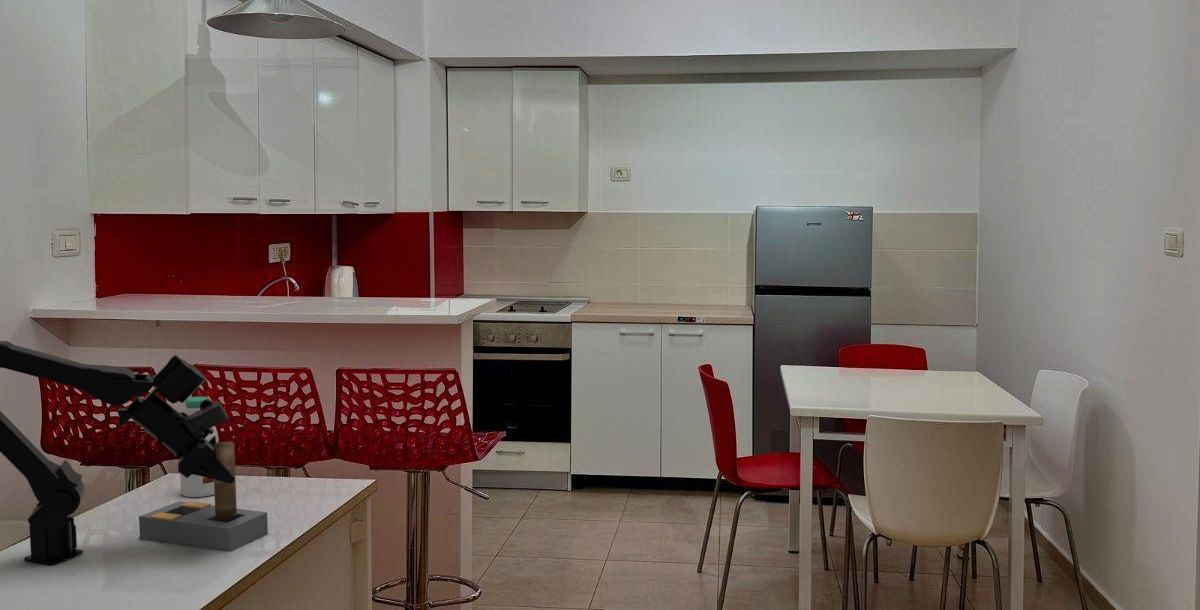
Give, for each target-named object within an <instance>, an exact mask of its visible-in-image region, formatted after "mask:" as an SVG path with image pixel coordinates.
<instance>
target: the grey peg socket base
mask: <svg viewBox="0 0 1200 610" xmlns="http://www.w3.org/2000/svg"><path fill="white" fill-rule="evenodd" d="M268 524H269V523H268V512H267V511H260V510H252V509H243V508H237V515H236V516H235V517H232V518H226V519H219V518H216V517H215V505H214V504H213V505H212V503H209V502H201V501H200V502H199V501H193V500H190V501H180V500H179V501H175V502H173V503H171V504H168V505H165V506H163V507H161V508H160V507H159V508H158V509H155V510H153V511H150V512H147V513H145V514H142V515H139V516H138V527H139V530H138V531H139V539H142V540H143V539H144V540H150V541H151V540H152V541H158V542H165V543H173V544H178V545H183V546H184V545H186V546H193V547H199V548H207V549H213V550H219V551H228V552H232V551H234V550H237V549H238V548H240V547H242V546H245V545H246V544H249V543H252V542H253V541H255V540H258V539H260V538H262V537H264V536H266V535H268V534H269V530H268V529H269V527H268Z"/></svg>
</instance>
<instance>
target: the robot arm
mask: <svg viewBox="0 0 1200 610" xmlns="http://www.w3.org/2000/svg"><path fill="white" fill-rule="evenodd" d="M1 368H2V369H6V370H10V371H14V372H16V373H17V372H18V373H20V374H25V375H29V376H32V377H36V378H40V379H43V380H47V381H51V382H54V383H59V384H63V385H65V386H70V387H74V388H75V389H78V390H80V391H82V392H84V393H85V394H86V395H89V396H91V397H93V398H94V399H97V400H99V401H101V402H103V403H106V404H108V405H109V406H110V405H111V406H116V407H117V406H118V407H119V406H122V405H125V404H127V403H129V402H130V401H131V400H132V399H134V398H133V397H136V396H137V397H136V398H135V399H134V400H133V401H132V402H131V403H130V404H129V405H127V407H123V408H118V410H117V414H118V418H119V419H118V426H119V427H123V426H125V424H127V423H128V422H129V421H130V420H132V421H133V422H134V423H136V424H137V425H138V426H140V427H141V428H142V429H144V430H145V432H147V433H148V434H150V435H151V436H152V437H153V438H154V439H155V442H156V443H157V444H158V445H159V446H161V445H163V446H164V447H166V448H167V449H168V450H169V451H171V452H172V453H173V454H174V458H175V459H177V462H178V463H177V470H178V471H177V472H178V473H179V474H180V473H181V474H182V475H183V476H185V477H186V478H188V477H189V476H190V475H193V474H194V475H198V476H202V477H207V478H211V479H215V480H218V481H222V482H226V483H230V484H231V483H233V482H234V481H235V479H236V477H235V478H234V477H233V475H232V474H231V473H230V472H229V471H228V470H227V468H226V467H225V466H224V465H223V464H222V463H221V461H220V460H219V459H218V458H217V457H216V445H214V446H213V444H215V443H216V436H214V437H213V438H212V439H211V440H210V441H208V440H207V439H205V438H206V437H207V436H208V435H209V434H212V433H213V432H214V429H213V428H211V427H213V426H215V427H216V426H217V425H222V424H223V423H225V422H227V421H228V414H227V412H226V411H225V409H224V408H223V406H222V404H221V402H220V401H219V400H216V401H213V400H212V399H210V398H209V397H208V398H209V399H208V398H207V399H205V400H203V401H201V402H200V410H199V411H198V410H197V411H196V412H195V413H193V414H191V415H190V416H189V415H187V413H186V412H185V411H178V410H176V409H175V408H174V407H173V406H172V405H170V404H169V403H168V402H170V403H171V404H177V403H178V402H179V403H180V404H182V403H185V402H186V399H188V398H190V396H191V395H192V394H193V393H194V392H196V391H197V389H198V388H199V387H200V386H201V385H202V384H203V383H205V381H206V380H207V377H206V376H205V375H204V374H203V373H202V372H201V371H200V370H199V369H198V368H197V367H195V366H194V365H193V364H192V363H189V362H187V361H186V360H184V359H183V358H181V357H180V356H178V355H177V354H173V356H171V358H170V359H169V360H168V362H167V363H166V364H165V365H164V366H163V367H162V368H161V369H160V370H159V371H158V372H157V373H156V374H149V373H148V374H146V373H145V374H143V373H135V372H134V371H133V370H131V369H130V368H128V367H123V366H115V365H105V364H87V363H82V362H78V361H74V360H70V359H67V358H65V357H64V358H63V357H60V356H56V355H54V354H50V353H45V352H42V351H38V350H34V349H31V348H28V347H23V346H20V345H16V344H14V343H12V342H10V341H8V340H0V369H1ZM153 387H154V388H153ZM151 389H152V390H151ZM149 391H150V392H149ZM148 392H149V393H148ZM147 393H148V394H147ZM157 393H158V394H160V395H161V396H159V395H158V394H157ZM146 394H147V395H146ZM141 395H145V396H144V397H141ZM162 397H163V398H162ZM164 399H165V400H166V401H165V400H164ZM167 401H168V402H167ZM204 439H205V440H204ZM0 453H1V454H2V456H4V457H5V458H6V459H7V460H8V461H9V462H10V464H12V465H13V466H14V467H15V468H16V470H17V471H18V472H19V473H20V474H21V475H23V476H24V478H25V479H26V481H27V482H28V485H29V487H30V489H31V491H32V493H33V495H34V497H35V499H36V500H37V501H38V503H36V505H35V507H34V508H33V510H32V512H31V513H30V515H29V517H28V518H27V523H28V524H29V527H28V530H29V544H30V545H29V546H30V554H29V555H26V556H24V557H23V560H24V561H26V562H31V563H37V564H44V565H51V566H52V565H57V564H58V563H61V562H63V561H66V560H69V559H71V558H73V557H77V556H79V555H81V554H83V553H84V552H83V549H78V548H77V547H78V543H77V542H78V540H77V526H76V524H75V517H74V516H73V517H72V516H71V515H72V514H74V513H75V512H76V511H77V510H78V508H79V506H80V504H81V502H82V499H83V497H84V495H85V484H84V482H83V481H82V479H83V475H82V474H80V473H78V472H77V471H75V469H73V467H72V466H71V464H70V463H69V462H68V460H66V459H64V461H63V462H62V463H61V464H60V465H59V464H58V463H55V462H53V461H51V460H50V459H48V458H47V457H46V455H44V454H43V452H41V450H40V449H38V448H37V447H36V446H35V445H34V444H33V443H32V442H31V440H29V438H28V437H27V436H25V434H23V432H22V431H21V430H20V429H19V428H18V427H17V426H16V425H15V424H14V423H13V422H12V421H11V420H10V419H9V418H8V417H7V416H6V415H5V414H4V413H3V412H2V411H1V410H0Z"/></svg>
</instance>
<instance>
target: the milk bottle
mask: <svg viewBox="0 0 1200 610" xmlns="http://www.w3.org/2000/svg"><path fill="white" fill-rule="evenodd" d="M207 398H208V399H209V400H210V398H209V397H208V396H192V397H188V398H187V399H186V400H185V407H186V408H185V410H186V412H187V413H186V414H187V415H189V416H190V415H191V414H193V413H195V412H196V411H197V410H198V411H199V410H200V402H201V401H203V400H205V399H207ZM211 428H213V429H214V432H213V433H212V434H209V435H208V436H207V437H206V438H205V439H207V440H208V441H210V440H211V439H212V438H213V437H214V436H216V443H220V442H219V441H220V439H219V434H218V430H217V427H216V425H215V426H213V427H211ZM205 439H204V440H205ZM179 478H180V493H181V495H182V496H184V497H187V498H203V497H204V498H205V497H209V496H213V495H214V496H215V492H214V479H211V478H207V477H202V476H198V475H194V474H193V475H190V476H189V477H188V478H186V477H185V476H183V475H182V474H181V473H180V472H179Z"/></svg>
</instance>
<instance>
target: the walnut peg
mask: <svg viewBox="0 0 1200 610" xmlns="http://www.w3.org/2000/svg"><path fill="white" fill-rule="evenodd" d="M214 445H216V457H217V458H218V459H219V460H220V461H221V463H222V464H223V465H224V466H225V467H226V468H227V470H228V471H229V472H230V473H231V474H232V475H233V477H234V478H235V481H234V482H233V483H231V484H230V483H226V482H222V481H218V480H215V479H214V492H215V494H214V506H215V517H216V518H219V519H226V518H232V517H235V516H236V515H237V509H238V508H237V487H236V485H237V483H236V480H237V479H236V456H235V455H236V454H235V453H236V452H235V451H236V450H235V442H232V441H222V442H219V443H215V444H213V446H214Z"/></svg>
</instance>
